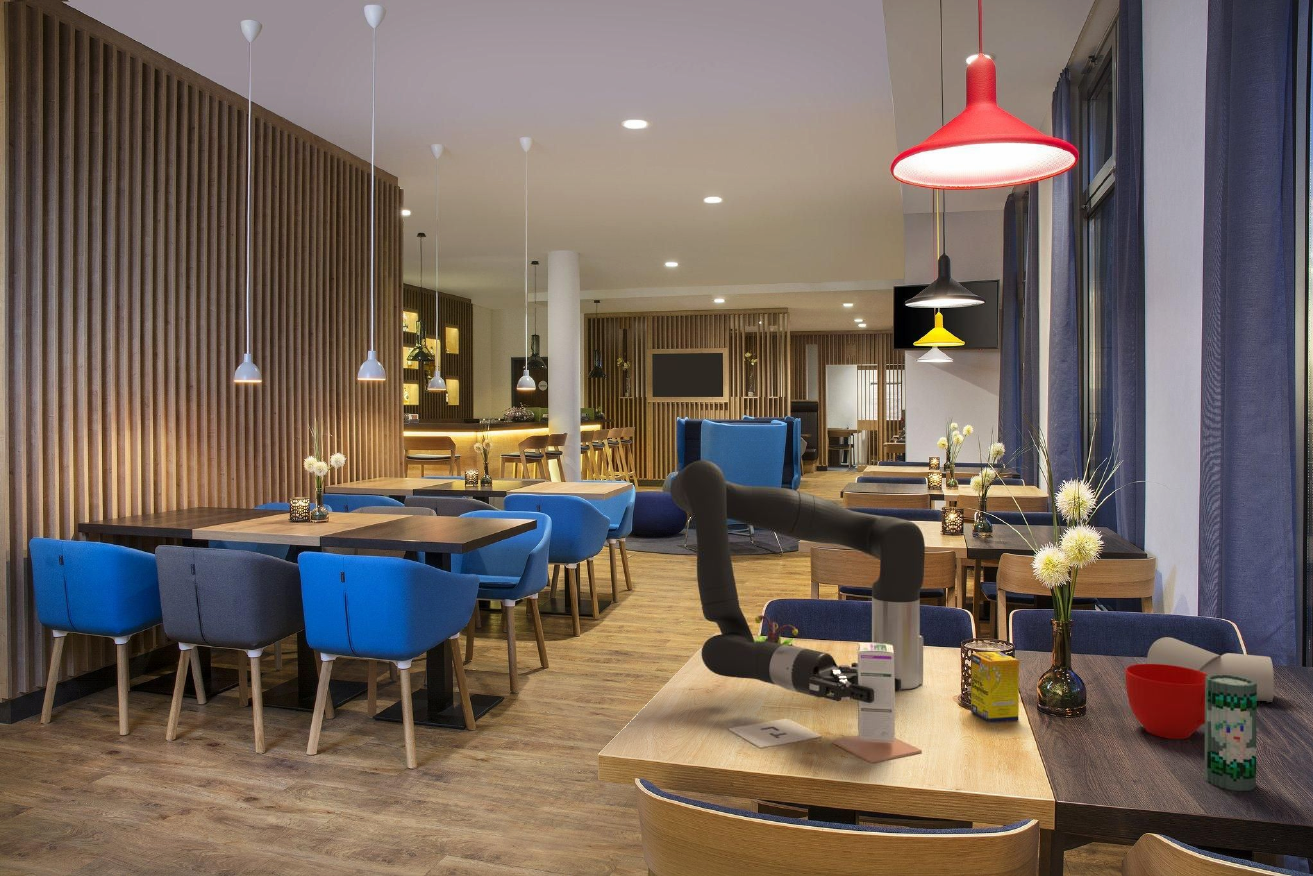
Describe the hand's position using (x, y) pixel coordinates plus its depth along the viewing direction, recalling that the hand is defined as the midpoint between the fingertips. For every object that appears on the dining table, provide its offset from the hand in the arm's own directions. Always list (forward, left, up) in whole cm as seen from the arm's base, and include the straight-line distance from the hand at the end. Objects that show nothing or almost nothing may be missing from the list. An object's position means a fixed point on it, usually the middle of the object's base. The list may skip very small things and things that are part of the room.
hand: (886, 690), depth 146 cm
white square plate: (+12, -15, -10) cm, 21 cm away
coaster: (+1, -2, -10) cm, 10 cm away
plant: (-11, -52, -10) cm, 54 cm away
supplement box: (-28, -5, -10) cm, 30 cm away
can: (-36, +32, -10) cm, 50 cm away
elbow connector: (-78, +1, -10) cm, 79 cm away
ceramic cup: (-48, +16, -10) cm, 52 cm away
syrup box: (+1, -2, -8) cm, 8 cm away
